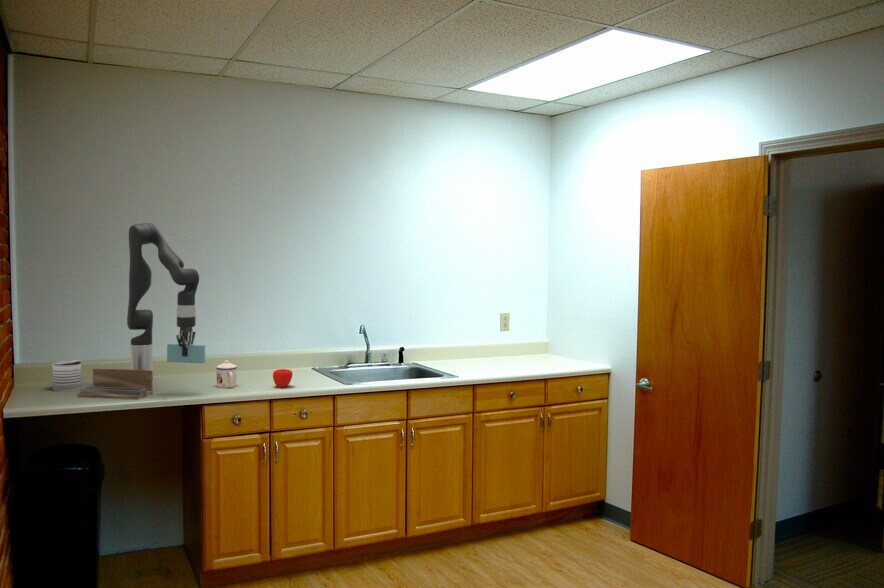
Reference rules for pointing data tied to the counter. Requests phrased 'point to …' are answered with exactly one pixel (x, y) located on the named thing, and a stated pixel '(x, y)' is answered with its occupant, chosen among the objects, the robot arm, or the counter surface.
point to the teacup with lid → (226, 375)
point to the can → (66, 375)
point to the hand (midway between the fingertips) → (186, 355)
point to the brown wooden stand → (119, 384)
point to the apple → (282, 377)
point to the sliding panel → (194, 355)
